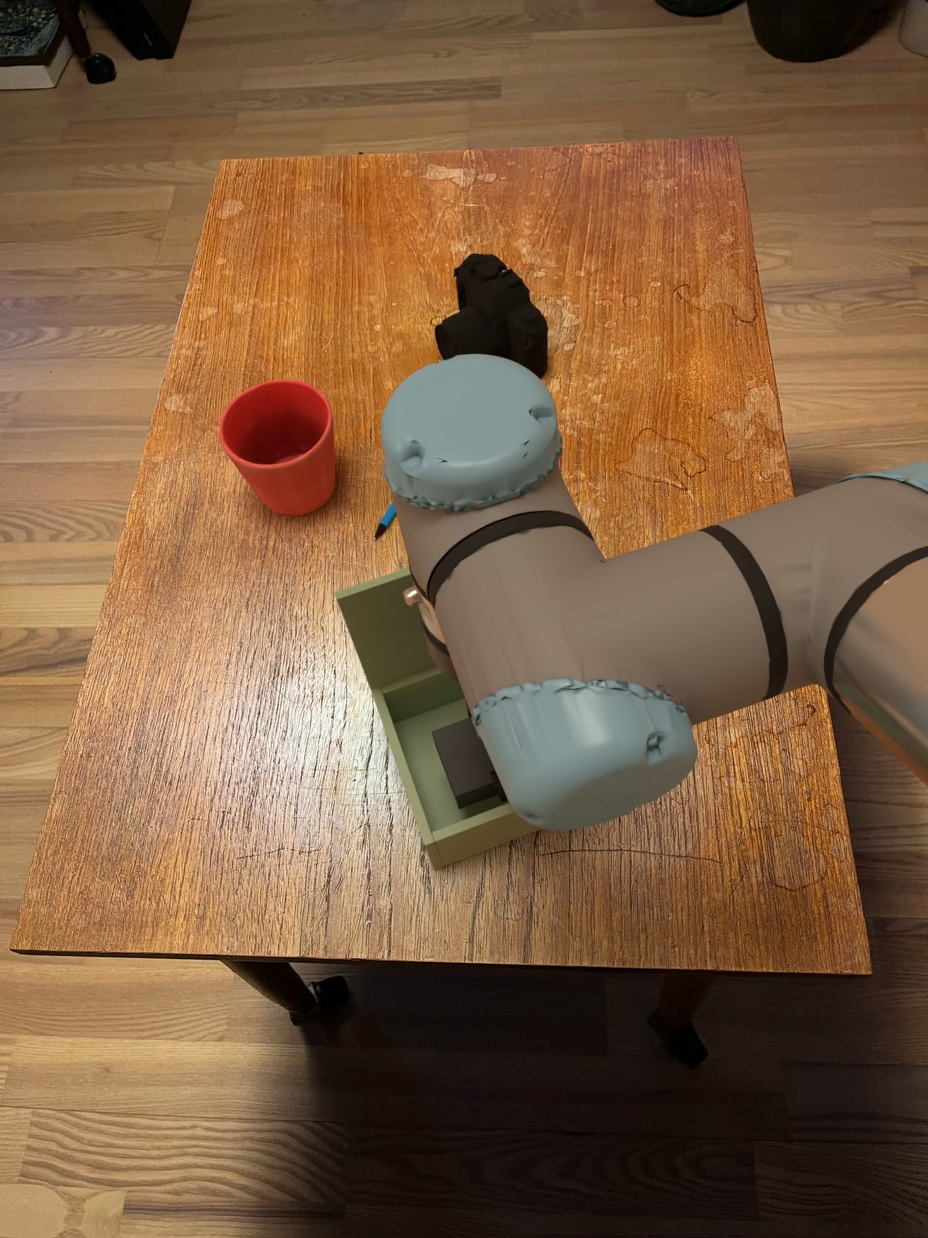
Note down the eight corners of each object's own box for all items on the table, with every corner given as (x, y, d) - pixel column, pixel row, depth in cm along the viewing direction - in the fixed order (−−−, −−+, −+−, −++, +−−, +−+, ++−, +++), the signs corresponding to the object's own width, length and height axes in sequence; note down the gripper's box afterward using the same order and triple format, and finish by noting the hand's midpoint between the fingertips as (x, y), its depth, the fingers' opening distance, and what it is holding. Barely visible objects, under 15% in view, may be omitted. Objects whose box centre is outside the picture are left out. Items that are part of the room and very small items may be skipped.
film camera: (413, 329, 102) (403, 263, 95) (486, 295, 104) (482, 227, 96) (483, 413, 95) (478, 348, 87) (560, 374, 97) (562, 307, 89)
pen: (465, 407, 96) (464, 400, 95) (378, 543, 88) (376, 536, 87) (457, 405, 96) (456, 397, 95) (371, 540, 88) (368, 534, 87)
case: (615, 800, 73) (621, 771, 67) (434, 870, 72) (424, 845, 66) (550, 662, 80) (550, 624, 74) (383, 722, 78) (370, 688, 72)
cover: (556, 523, 61) (553, 517, 61) (336, 599, 59) (334, 592, 60) (552, 625, 74) (549, 619, 74) (370, 690, 72) (368, 683, 72)
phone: (569, 768, 69) (570, 753, 67) (459, 809, 68) (455, 796, 66) (541, 706, 72) (541, 690, 69) (435, 746, 71) (431, 731, 68)
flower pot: (368, 459, 93) (351, 392, 85) (321, 542, 88) (298, 479, 80) (278, 434, 96) (253, 366, 87) (227, 513, 91) (196, 449, 83)
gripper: (372, 497, 54) (417, 672, 74) (480, 773, 45) (499, 887, 65) (489, 458, 55) (503, 642, 75) (620, 721, 46) (595, 849, 66)
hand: (501, 755), depth 70 cm, fingers closed on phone, 5 cm apart
